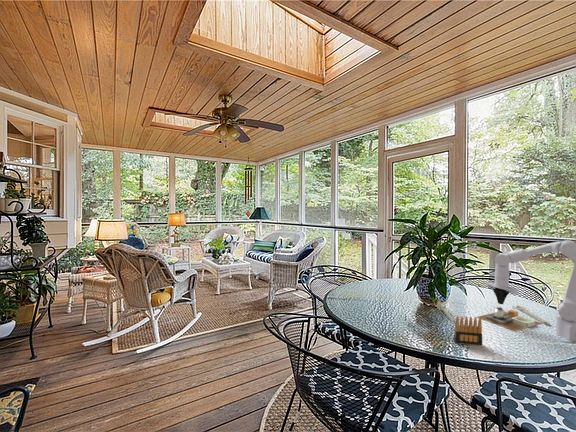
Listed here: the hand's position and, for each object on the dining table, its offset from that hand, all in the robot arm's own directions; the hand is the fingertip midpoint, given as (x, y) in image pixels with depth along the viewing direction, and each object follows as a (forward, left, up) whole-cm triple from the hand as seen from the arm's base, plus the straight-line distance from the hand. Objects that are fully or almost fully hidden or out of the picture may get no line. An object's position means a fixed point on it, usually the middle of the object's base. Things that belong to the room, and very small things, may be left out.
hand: (500, 303), depth 147 cm
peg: (-1, +1, -9) cm, 9 cm away
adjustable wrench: (+12, -21, -10) cm, 26 cm away
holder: (+1, -5, -10) cm, 11 cm away
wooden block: (+3, -6, -8) cm, 11 cm away
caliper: (+6, +24, -10) cm, 27 cm away
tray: (-2, -9, -10) cm, 14 cm away
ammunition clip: (-25, +27, -10) cm, 38 cm away
